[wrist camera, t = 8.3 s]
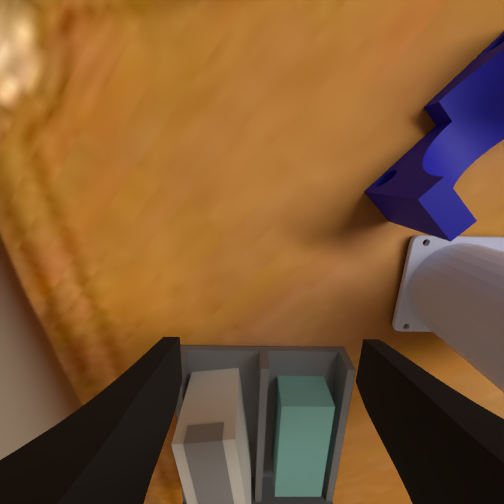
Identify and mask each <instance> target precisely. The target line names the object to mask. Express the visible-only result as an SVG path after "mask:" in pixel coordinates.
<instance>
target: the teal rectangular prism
mask: <svg viewBox="0 0 504 504" xmlns="http://www.w3.org/2000/svg"><path fill="white" fill-rule="evenodd" d="M334 411H335V405H334V403H333V400H332V397H331V395H330V392H329V389H328V387H327V384H326V381H325V379H324V376H277V387H276V401H275V416H274V431H273V446H272V470H273V482H274V494H275V497H321V493H322V487H323V480H324V474H325V468H326V461H327V455H328V449H329V442H330V436H331V430H332V423H333V417H334Z"/></svg>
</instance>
